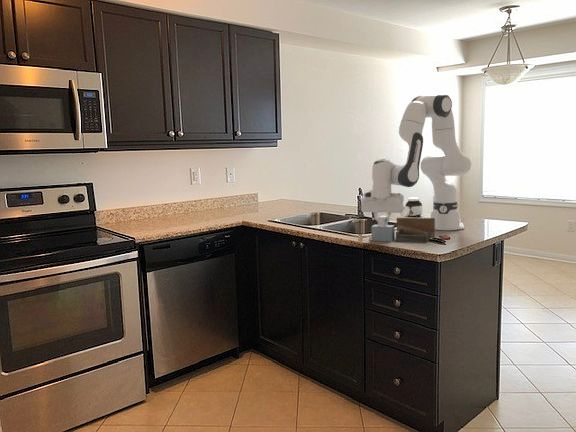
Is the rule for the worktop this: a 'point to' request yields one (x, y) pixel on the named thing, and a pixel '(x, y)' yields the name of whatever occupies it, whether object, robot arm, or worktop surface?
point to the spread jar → (412, 208)
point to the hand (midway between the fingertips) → (382, 221)
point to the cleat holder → (415, 229)
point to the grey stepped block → (383, 230)
